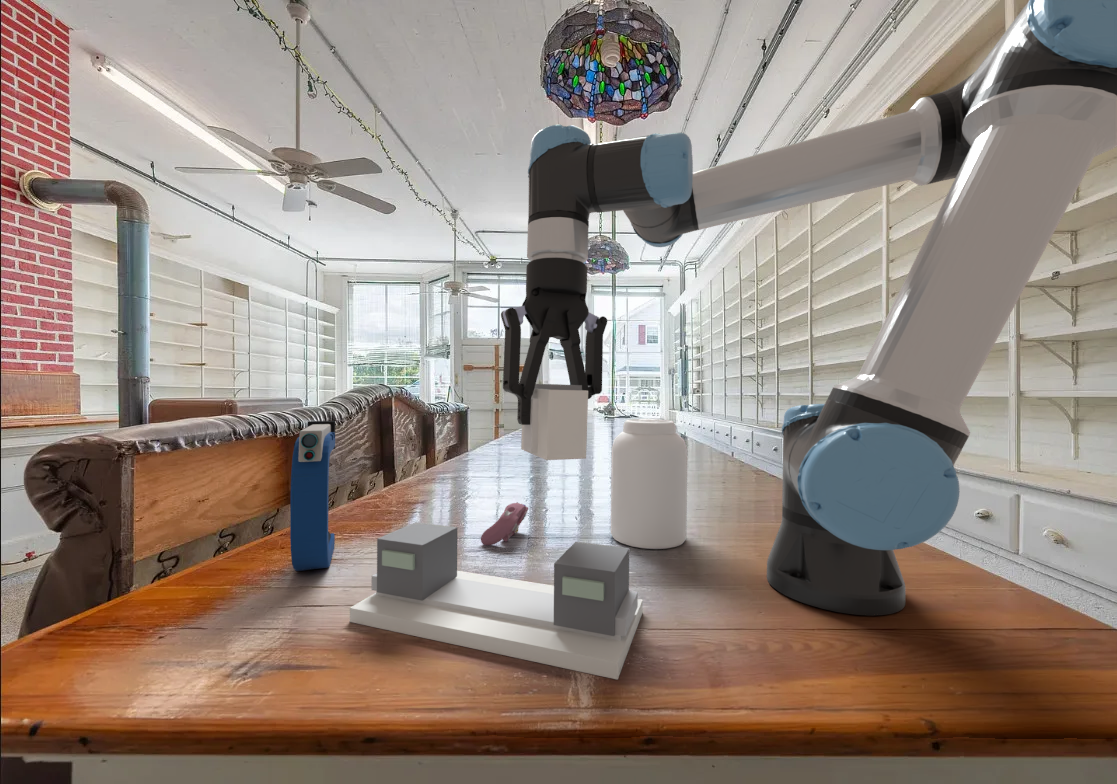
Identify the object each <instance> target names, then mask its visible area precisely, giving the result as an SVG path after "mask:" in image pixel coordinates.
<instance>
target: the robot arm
mask: <svg viewBox="0 0 1117 784" xmlns="http://www.w3.org/2000/svg"><path fill="white" fill-rule="evenodd" d="M692 147H693V146H692V141H691V139H690V136H689V135H687V134H686V133H684V132H672V133H652V134H650V135H643V136H637V137H632V138H626V139H620V140H619V139H618V140H615V141H614V140H613V141H606V142H602V143H596V144H594V143H592V141H591V138H590V136H589V134H588V133H587V132H586V131H585V130H583V129H582V128H581V127H578V126H576V125H567V126H565V125H563V124H560V123H559V124H552V125H548V126H546V127H543V128H541V129H540V130H539V131H537V132H536V133H535V134H534V136H533V138H532V140H531V143H530V154H529V164H528V165H529V166H528V168H527V174H528V176H527V178H528V212H527V213H528V214H527V215H528V218H527V219H528V220H527V240H526V241H527V242H526V243H527V247H526V258H528V260H529V262H528V263H527V265H526V267H525V268H526V270H525V271H526V275H525V276H526V277H525V299H524V300H523V302H522V305H521V306H518V307H508V308H506V309H504V310H503V311H501V313H500V318H501V321H502V323H503V327H504V346H503V347H504V349H503V350H504V351H503V375H502V376H503V377H502V389H503V391H504V392H507V393H510V394H512V395H514V396H515V397H516V398H517V418H516V420H517V422H518V423H517V424H519V425H521V426H522V425H524V450H523V451H524V452H527V453H529V454H531V455H534V453H537V442H538V406H539V399H534V398H531V397H532V395H533V392H534V388H535V384H537V379H538V377H539V374H540V373H539V372H540V370H541V366H542V362H543V358H544V355H545V351H546V348H547V345H548V343H549V341H550V338H553V339H555V340H559V343H560V346H561V347H562V351H563V354H564V358H565V365H566V369H567V374H568V378H569V379H568V380H569V383H570V384H569V385H582V390H586V391H588V400H590V399H592V397H593V396H596V395H600V394H601V393H602V391H603V362H604V361H603V356H604V354H603V353H604V350H603V349H604V333H605V330H606V328H607V325H608V319H607V317H606V316H598V315H595V314H593V313H591V312H589V307H588V305H587V301H586V297H587V294H588V293H587V292H588V266H587V265H586V264H585V263H586V262H587V261H588V260H589V228H590V224H589V223H590V221H589V220H590V219H589V218H590V214H593V213H597V214H599V213H610V212H619V211H623V213H624V214H625V216H626V217H627V219H628V220H629V223H630V225H631V227H632V229H633V231H634V232H635V234H636V236H638V237H639V238H640V239H641V240H642V241H644V243H645V244H647V245H649V246H651V247H654V248H664V247H670V246H671V245H673V244H675V242H677V241H679V239H681V237H682V236H683V235H684V234H688V233H691V232H695V231H700V230H704V229H708V228H712V227H713V228H714V227H716V226H717V227H718V226H722V225H725V224H729V223H733V222H738V221H741V220H746V219H751V218H755V217H758V216H762V215H767V214H770V213H771V214H772V213H775V212H779V211H784V210H787V209H788V210H789V209H792V208H796V207H801V206H805V205H809V204H814V203H817V202H822V201H826V200H830V199H834V198H838V197H844V196H847V195H851V194H855V193H860V192H863V191H868V190H872V189H876V188H881V187H884V186H885V187H886V186H889V185H892V184H897V183H902V182H905V181H911V182H912V183H914V184H916V185H918V186H925V185H931V184H934V183H938V182H944V181H948V180H952V179H954V181H952V184H951V187H950V188H949V191H948V193H947V195H946V196H945V198H944V200H943V203H942V205H941V206H940V208H939V211H938V212H937V214H936V217H935V219H934V221H933V222H932V225H931V226H930V229H929V231H928V233H927V235H926V237H925V239H924V240H923V243H922V245H921V246H920V249H919V251H918V253H917V255H916V257H915V259H914V261H913V263H912V265H911V267H910V269H909V271H908V274H907V276H906V278H905V280H904V281H903V284H902V285H901V287H900V289H899V291H898V293H897V295H896V298H895V299H894V302H893V304H892V306H891V307H890V310H889V312H888V314H887V316H886V318H885V319H884V321H883V324H882V325H881V328H880V330H879V332H878V334H877V335H876V338H875V339H874V341H873V344H872V346H871V348H870V350H869V352H868V354H867V356H866V358H865V360H864V362H863V364H862V366H861V368H860V370H859V372H858V374H857V375H856V376H854V377H852V378H849V379H847V380H844V381H841V382H840V383H837V384H834V385H833V387H832V389H831V392H830V393H829V395H828V396H827V397H828V398H827V399H826V401H825V403H812V404H801V405H796V406H792V407H790V408H788V409H787V410H786V411H785V412H784V415H783V423H782V426H781V434H782V437H783V439H782V443H783V444H782V447H783V448H782V496H781V497H782V499H781V502H782V505H781V506H782V507H781V508H782V509H781V522H780V526H779V528H778V531H777V534H776V536H775V539H774V542H773V544H772V547H771V549H770V552H769V555H768V557H767V561H766V579H767V580H766V581H767V582H768V584H769V585H770V586H771V587H773V589H775V590H776V591H777V592H779V593H781V594H782V595H784V596H786V597H788V598H791V599H793V600H794V601H797V602H800V603H803V604H804V605H808V606H812V607H815V608H819V609H822V610H825V611H831V612H835V613H842V614H847V615H849V614H850V615H857V616H883V615H891V614H895V613H897V612H900V611H902V610H903V609H904V608H905V606H906V583H905V579H904V577H903V574H902V571H901V569H900V566H899V565H900V564H899V563H898V561H897V557H896V554H895V552H894V551H895V550H903V549H907V548H912V547H915V546H917V545H920V544H923V543H925V542H926V541H928V540H931V539H932V538H933V537H935V536H936V535H937V534H939V533H940V532H942V531H943V529H944V528H945V527H946V526H948V523H949V522H950V521H951V519H952V517H953V516H954V514H955V512H956V510H957V507H958V504H959V501H960V500H959V499H960V481H959V478H958V476H957V471H956V469H955V463H956V462H957V460H958V458H959V456H960V454H961V453H962V450H963V448H964V447H965V445H966V443H967V440H968V439H969V437H970V434H971V432H970V430H969V427H968V425H967V424H966V421H965V420H964V417H963V416H962V415H961V408H962V406H963V403H964V402H965V400H966V398H967V396H968V394H969V392H970V390H971V389H972V386H973V385H974V383H975V381H976V379H977V378H978V375H979V374H980V371H981V370H982V368H983V367H984V364H985V363H986V360H987V359H988V357H989V355H990V353H991V351H992V349H993V347H994V345H995V343H996V341H997V340H998V338H999V336H1000V334H1001V332H1002V330H1003V328H1004V327H1005V325H1006V323H1007V322H1008V319H1009V318H1010V316H1011V314H1012V312H1013V309H1014V308H1015V306H1016V304H1017V302H1018V301H1019V299H1020V297H1021V295H1022V293H1023V291H1024V289H1025V287H1026V286H1027V283H1028V282H1029V280H1030V278H1031V276H1032V274H1033V272H1034V270H1035V269H1036V267H1037V265H1038V263H1039V261H1040V260H1041V257H1042V255H1043V253H1044V252H1045V250H1046V248H1047V246H1048V244H1049V242H1050V241H1051V239H1052V237H1053V235H1054V233H1055V231H1056V229H1057V227H1058V225H1059V224H1060V222H1061V220H1062V218H1063V216H1064V215H1065V212H1066V210H1067V209H1068V207H1069V204H1070V203H1071V201H1072V200H1073V198H1074V195H1075V194H1076V192H1077V190H1078V188H1079V187H1080V184H1081V183H1082V181H1083V179H1084V176H1085V175H1086V173H1087V171H1088V169H1089V168H1090V165H1091V164H1092V162H1093V160H1094V158H1095V157H1098V156H1100V155H1102V154H1104V153H1106V152H1109V151H1111V150H1113V149H1115V148H1117V0H1028V1H1027V3H1026V4H1025V5H1024V6H1023V8H1022V9H1021V10H1020V12H1019V13H1018V15H1017V16H1016V17H1015V19H1014V20H1013V21H1012V23H1011V24H1010V25H1009V26H1008V28H1007V29H1006V31H1005V32H1004V33H1003V35H1001V37H1000V39H998V41H997V43H996V44H995V45H994V47H993V48H992V49H991V50H990V52H989V53H988V54H987V56H986V57H985V58H984V59H983V61H982V63H980V65H979V66H978V68H977V69H976V70H975V71H974V72H973V73H971V74H970V75H969V76H967V77H966V78H965V79H963V80H961V81H960V82H959V83H957V84H956V85H954V86H951V87H949V88H948V89H945V90H943V91H941V92H937V93H934V94H930V95H926V96H924V97H921V98H919V99H917V100H916V101H915V102H914V104H913V105H912V106H911V107H910V108H909V110H908V111H905V112H901V113H898V114H895V115H890V116H887V117H883V118H881V119H876V120H874V121H873V120H872V121H870V122H866V123H863V124H859V125H856V126H852V127H848V128H845V129H842V130H838V131H835V132H831V133H827V134H825V135H821V136H818V137H814V138H809V139H808V140H807V139H806V140H804V141H803V140H802V141H800V142H796V143H793V144H789V145H785V146H781V147H778V148H774V149H771V150H768V151H765V152H761V153H757V154H755V155H754V154H753V155H751V156H747V157H743V158H739V159H737V160H733V161H730V162H725V163H722V164H719V165H715V166H710V167H707V168H704V169H701V170H698V171H694V167H693V165H694V164H693V148H692ZM693 171H694V172H693ZM524 317H525V319H526V321H527V322H528V323H529V326H531V328H532V331H531V334H530V338H529V347H528V350H527V353H526V356H525V361H524V364H523V367H522V372H521V375H520V369H521V367H520V366H521V340H522V339H521V338H522V328H521V325H523V323H524ZM583 323H585V326H584V329H585V330H586V334H585V357H584V358H585V360H583V354H582V350H581V336H580V335H581V334H580V332H579V331H580V330H579V329H580V328H581V326H582V325H583ZM584 363H585V365H584Z"/></svg>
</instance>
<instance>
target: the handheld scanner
mask: <svg viewBox="0 0 1117 784" xmlns="http://www.w3.org/2000/svg"><path fill="white" fill-rule="evenodd" d="M335 449H336V421H335V420H309V421H307V426H306V427H305V428H303V429H302V430H300V431H299V436H298V437H297V438H296V440H295V441H294V443H293V451H292V459H291V473H290V505H289V507H290V513H289V514H290V515H289V516H290V521H289V522H290V523H289V524H290V525H289V526H290V529H289V531H290V533H289V535H290V537H289V538H290V540H289V541H290V557H291V558H290V559H291V563H292V568H293V570H294V571H296V572H301V571H310V570H317V569H319V570H320V569H327V568H330V566H331V563H332V559H333V554H334V550H335V544H336V543H335V542H336V540H335V535H336V534H335V533H333V532H332V533H330V531H329V489H330V488H329V478H330V477H329V476H330V458H331V453H332V452H333V450H335Z"/></svg>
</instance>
